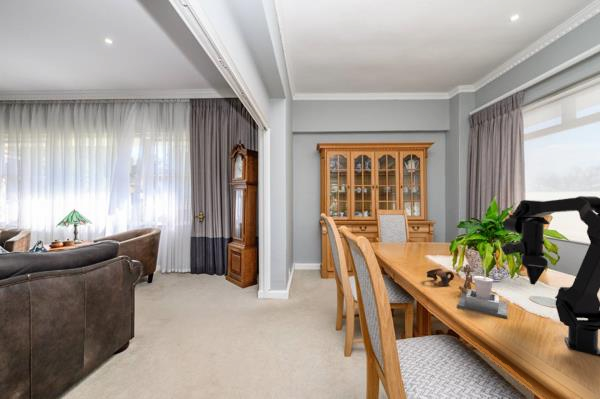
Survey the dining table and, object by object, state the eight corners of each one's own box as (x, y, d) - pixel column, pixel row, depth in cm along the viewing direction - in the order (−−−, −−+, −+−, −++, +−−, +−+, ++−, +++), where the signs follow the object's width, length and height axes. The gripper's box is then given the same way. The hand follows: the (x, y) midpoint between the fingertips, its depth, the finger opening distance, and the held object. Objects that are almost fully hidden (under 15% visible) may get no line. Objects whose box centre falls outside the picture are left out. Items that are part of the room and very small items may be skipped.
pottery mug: (433, 287, 124) (426, 270, 128) (429, 290, 132) (422, 273, 136) (460, 282, 123) (452, 264, 126) (454, 285, 131) (447, 268, 135)
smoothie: (496, 307, 99) (497, 270, 99) (477, 306, 100) (478, 269, 100) (488, 300, 105) (488, 265, 105) (470, 299, 106) (470, 264, 106)
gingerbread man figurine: (476, 295, 114) (477, 267, 113) (466, 294, 115) (467, 266, 114) (468, 288, 122) (468, 262, 122) (459, 287, 123) (459, 261, 123)
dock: (507, 318, 92) (507, 307, 92) (457, 307, 101) (457, 296, 101) (506, 304, 104) (506, 294, 104) (461, 295, 113) (462, 286, 113)
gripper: (502, 231, 105) (501, 270, 105) (503, 237, 90) (502, 283, 90) (540, 233, 98) (539, 276, 98) (548, 240, 83) (547, 290, 83)
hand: (531, 280), depth 93 cm, fingers open, 9 cm apart
